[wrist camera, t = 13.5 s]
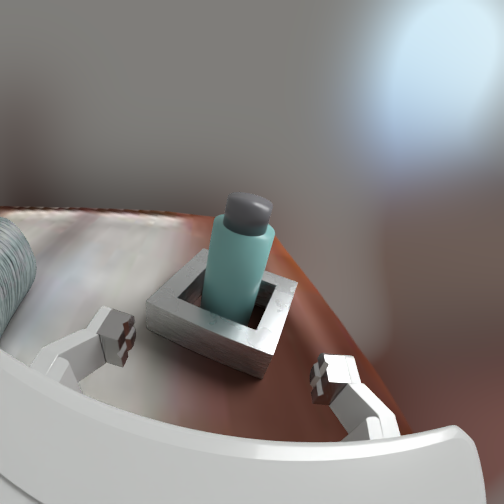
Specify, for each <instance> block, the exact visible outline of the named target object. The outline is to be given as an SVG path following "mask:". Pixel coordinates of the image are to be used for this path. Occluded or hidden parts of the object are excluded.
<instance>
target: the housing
mask: <svg viewBox="0 0 504 504" xmlns="http://www.w3.org/2000/svg"><path fill="white" fill-rule="evenodd" d="M208 252H209V250H207V249H202V250H201V251H200V252H199V253H198V254H197V255H196V256H195V257H193V258H192V259H191V260H190V261H189V262H188V263H187V264H186V265H185V266H183V267H182V268H181V269H180V270H179V271H178V272H177V273H176V274H175V275H174V276H172V277H171V278H170V279H169V280H168V281H167V282H166V283H165V284H164V285H163V286H161V287H160V288H159V289H158V290H157V291H156V292H155V293H154V294H153V295H152V296H151V297H150V298H149V299H147V300H146V318H147V329H149V330H151V331H153V332H155V333H157V334H159V335H161V336H163V337H165V338H167V339H169V340H171V341H173V342H175V343H177V344H179V345H181V346H183V347H185V348H188V349H190V350H192V351H194V352H196V353H199V354H201V355H203V356H205V357H208V358H210V359H212V360H215V361H217V362H219V363H222V364H224V365H226V366H229V367H231V368H234V369H236V370H239V371H241V372H244V373H247V374H249V375H252V376H255V377H257V378H260V379H263V376H264V374H265V372H266V370H267V368H268V365H269V363H270V361H271V359H272V356H273V354H274V351H275V348H276V346H277V343H278V340H279V337H280V334H281V331H282V328H283V325H284V322H285V319H286V317H287V314H288V311H289V308H290V304H291V301H292V298H293V295H294V292H295V289H296V286H297V283H298V282H295V281H292V280H290V279H287V278H284V277H281V276H278V275H276V274H273V273H270V272H267V271H264V273H263V277H262V280H261V284H260V287H259V290H258V294H257V297H256V300H255V304H254V305H257V306H259V307H262V308H265V309H266V310H265V312H264V314H263V317H262V319H261V321H260V323H259V325H258V328H257V330H254V329H251V328H249V327H246V326H244V325H241V324H239V323H236V322H233V321H231V320H228V319H226V318H224V317H221V316H219V315H216V314H214V313H211V312H209V311H207V310H204V309H202V308H199V307H197V306H195V305H193V303H194V302H195V301H196V300H197V299H198V297H199V296H200V295H201V294H202V291H203V284H204V278H205V271H206V265H207V259H208Z"/></svg>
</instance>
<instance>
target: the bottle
mask: <svg viewBox="0 0 504 504" xmlns="http://www.w3.org/2000/svg"><path fill="white" fill-rule="evenodd" d="M272 208H273V204H272V203H271V202H270V201H269V200H267V199H265V198H262V197H260V196H257V195H254V194H249V193H241V192H240V193H239V192H236V193H231V194H229V195H228V199H227V204H226V209H225V214H222V215H219V216H217V217H216V218H215V219H214V223H213V229H212V235H211V240H210V246H209V252H208V259H207V265H206V271H205V278H204V284H203V291H202V298H201V305H200V308H202V309H204V310H207V311H209V312H211V313H214V314H216V315H219V316H221V317H224V318H226V319H228V320H231V321H233V322H236V323H239V324H241V325H244V326H246V327H247V326H248V324H249V320H250V317H251V314H252V310H253V307H254V304H255V300H256V297H257V294H258V290H259V287H260V284H261V280H262V277H263V273H264V270H265V266H266V263H267V260H268V256H269V253H270V249H271V246H272V242H273V239H274V235H275V231H274V229H273V228H272V227H271V226H270V225H268V223H269V219H270V215H271V211H272Z"/></svg>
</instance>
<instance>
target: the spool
mask: <svg viewBox="0 0 504 504" xmlns="http://www.w3.org/2000/svg"><path fill="white" fill-rule="evenodd" d="M35 275H36V260H35V257H34V255H33V252H32V250H31V247H30V245H29V243H28V241H27V239H26V238H25V236H24V235H23V233H22V232H21V230H20V229H19V228H18V227H17V226H16V225H15V224H14V223H13V222H11V221H10V220H8V219H6V218H2V217H0V338H1V336H2V334H3V332H4V330H5V328H6V326H7V325H8V323H9V321H10V319H11V317H12V315H13V314H14V312H15V311H16V309H17V308H18V306H19V305H20V303H21V301H22V300H23V298H24V297H25V295H26V293H27V292H28V291H29V289H30V288H31V285H32V283H33V282H34V279H35Z"/></svg>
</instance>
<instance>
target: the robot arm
mask: <svg viewBox="0 0 504 504" xmlns="http://www.w3.org/2000/svg"><path fill="white" fill-rule="evenodd" d="M134 323H135V319H134V316H133V315H130V314H127V313H124V312H121V311H118V310H115V309H111V308H108V307H106V306H102V307H100V309H99V310H98V312H97V313H96V314H95V316H94V317H93V319H92V320H91V322H90V323H89V325H88V326H87V328H86V329H81V330H79V331H76V332H74V333H72V334H70V335H68V336H65V337H63V338H61V339H59V340H57V341H55V342H52V343H50V344H48V345H46V346H44V347H42V348H41V350H40V351H39V353H38V354H37V356H36V357H35V359H34V360H33V362H32V363H31V365H30V366H27V365H25V364H24V363H22V362H20V361H19V360H17V359H16V358H14V357H12V356H11V355H9V354H8V353H6V352H5V351H3V350H2V349H0V504H486V495H485V487H484V480H483V474H482V469H481V465H480V460H479V456H478V452H477V449H476V446H475V444H474V442H473V440H472V439H471V438H470V437H469V436H468V435H467V434H466V433H465V432H464V431H463V430H462V429H460V428H459V427H458V426H456V425H451V426H447V427H443V428H439V429H434V430H430V431H425V432H420V433H415V434H409V435H404V436H400V433H399V429H398V425H397V422H396V418H395V415H394V414H393V413H392V412H391V411H390V410H389V409H388V408H387V407H386V406H385V405H384V404H383V403H382V402H381V401H380V400H379V399H378V398H377V397H376V396H375V395H374V394H373V393H372V392H371V391H370V390H369V389H368V388H367V386H366V385H365V384H361V381H360V378H359V374H358V371H357V367H356V364H355V360H354V357H353V356H348V355H337V354H326V353H321V354H320V355H319V357H318V363H316V364H314V365H313V367H312V369H311V372H310V384H311V386H312V387H313V390H312V391H311V397H312V404H321V405H329V406H330V408H331V409H332V411H333V412H334V413H335V415H336V416H337V418H338V419H339V421H340V422H341V423H342V425H343V426H344V428H345V429H346V430H347V432H348V433H349V435H347V436H346V437H345V438H344V439H343V440H342V441H341V442H283V441H269V440H258V439H249V438H241V437H233V436H227V435H220V434H214V433H209V432H204V431H199V430H194V429H189V428H185V427H180V426H176V425H172V424H168V423H164V422H161V421H157V420H154V419H150V418H147V417H143V416H140V415H137V414H134V413H131V412H128V411H125V410H122V409H119V408H117V407H114V406H111V405H108V404H106V403H103V402H101V401H98V400H96V399H93V398H91V397H89V396H86V395H84V394H83V392H82V390H81V388H80V386H79V384H78V382H79V381H81V380H82V379H84V378H85V377H86V376H88V375H89V374H91V373H92V372H94V371H95V370H97V369H98V368H99V367H101V366H102V365H104V364H105V363H106V362H107V363H110V364H113V365H116V366H120V367H124V364H125V362H126V360H127V358H128V352H127V351H129V350H131V349H132V347H133V345H134V342H135V337H136V329H135V328H134V327H133V325H134Z"/></svg>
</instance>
